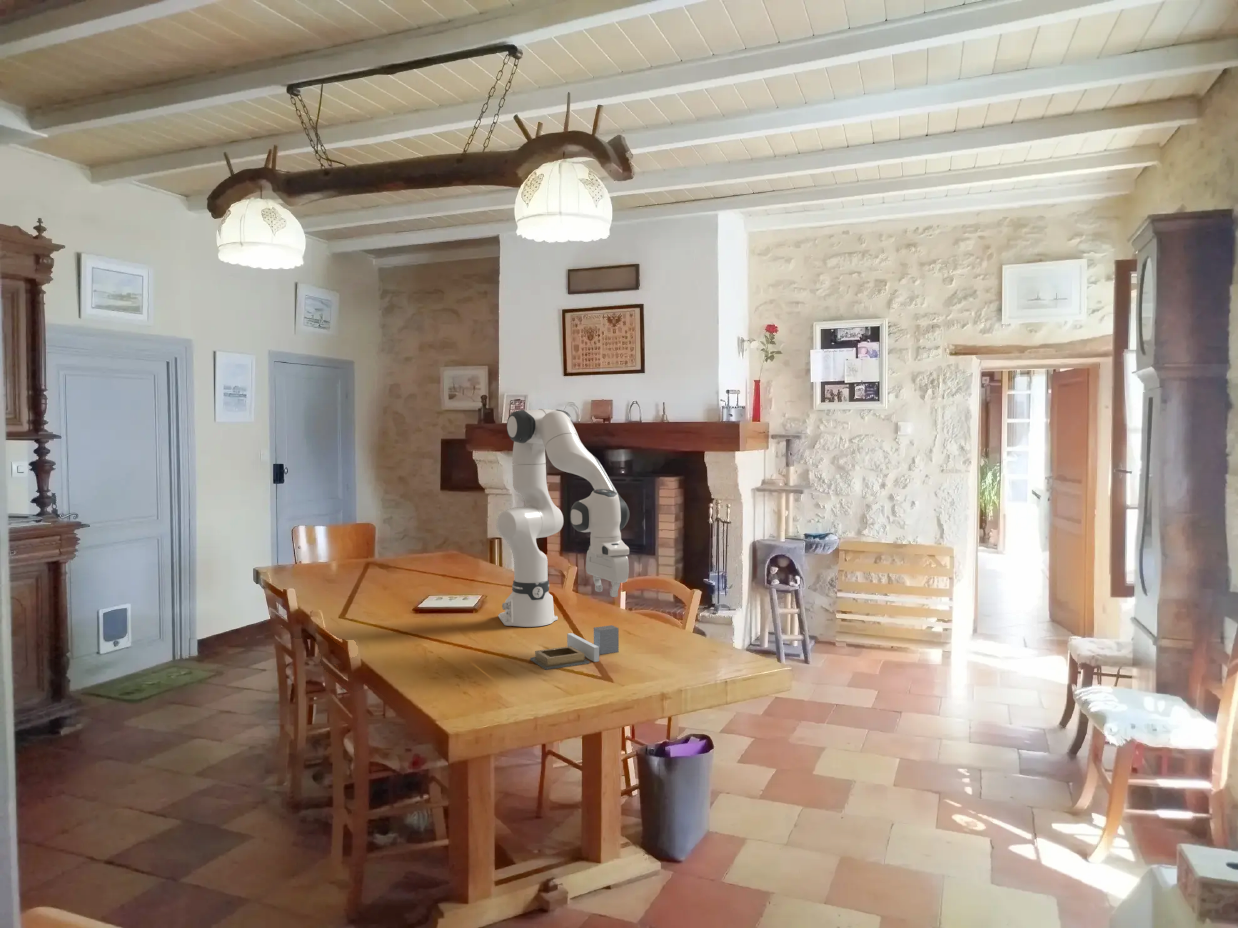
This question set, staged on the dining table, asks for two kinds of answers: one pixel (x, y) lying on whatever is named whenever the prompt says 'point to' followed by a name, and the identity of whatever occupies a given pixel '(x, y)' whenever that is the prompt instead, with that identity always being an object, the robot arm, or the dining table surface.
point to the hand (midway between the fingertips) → (606, 593)
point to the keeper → (559, 657)
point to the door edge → (583, 647)
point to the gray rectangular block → (607, 639)
